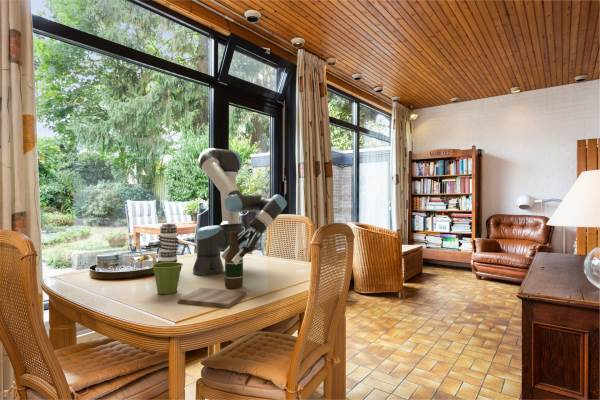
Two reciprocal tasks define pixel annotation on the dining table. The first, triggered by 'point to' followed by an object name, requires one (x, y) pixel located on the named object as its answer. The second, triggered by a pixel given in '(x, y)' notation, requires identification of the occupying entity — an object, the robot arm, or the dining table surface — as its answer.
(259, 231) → the robot arm
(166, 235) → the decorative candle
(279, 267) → the dining table surface
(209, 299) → the walnut board
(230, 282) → the beer bottle
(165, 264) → the plant pot
